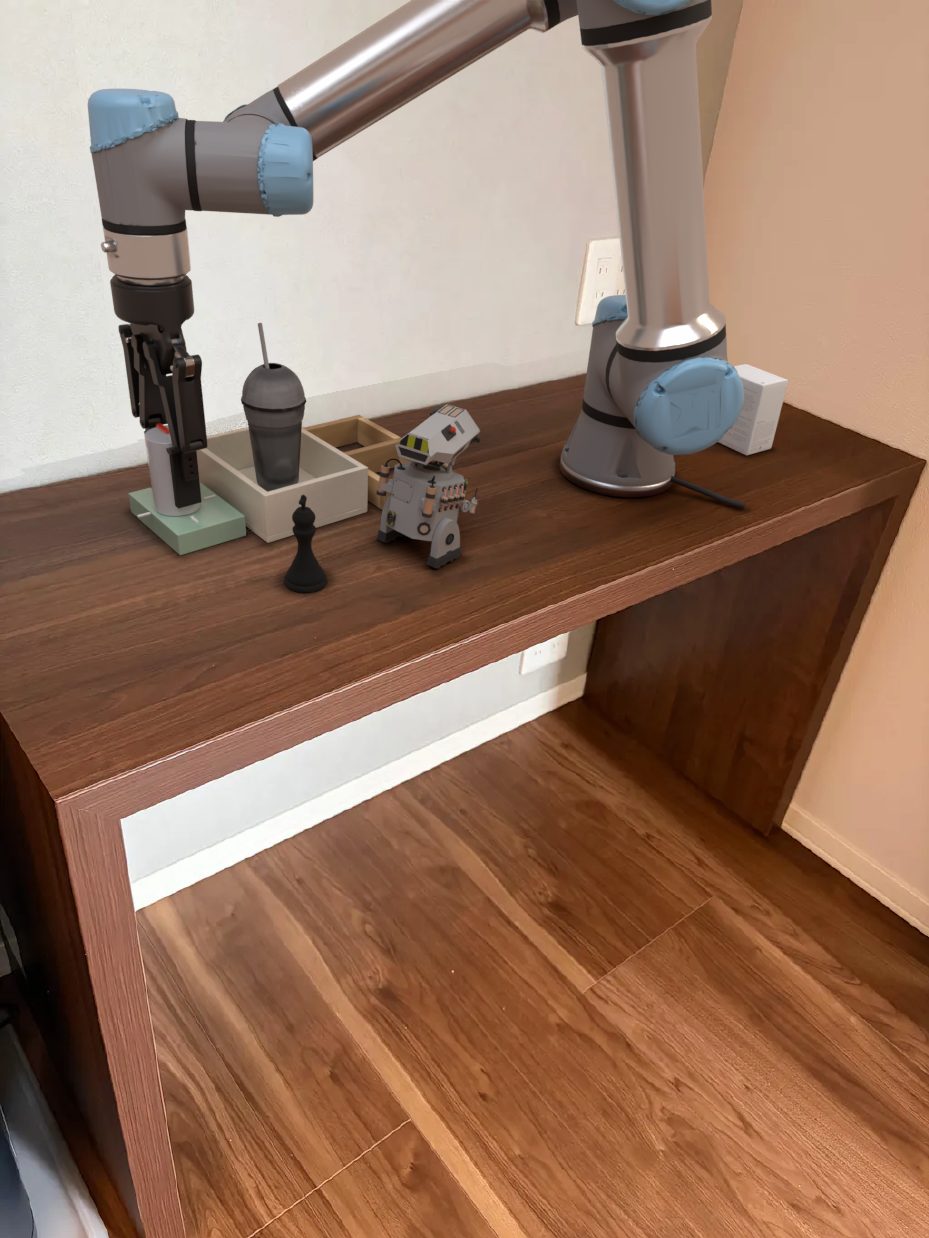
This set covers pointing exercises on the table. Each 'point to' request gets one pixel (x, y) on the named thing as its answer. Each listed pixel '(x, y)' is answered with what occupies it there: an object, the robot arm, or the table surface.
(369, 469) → the wooden compartment tray
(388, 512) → the figurine
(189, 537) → the green dial base plate
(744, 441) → the small box
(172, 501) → the tap knob
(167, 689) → the table surface
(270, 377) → the beverage cup
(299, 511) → the chess piece
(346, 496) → the cream open storage tray
